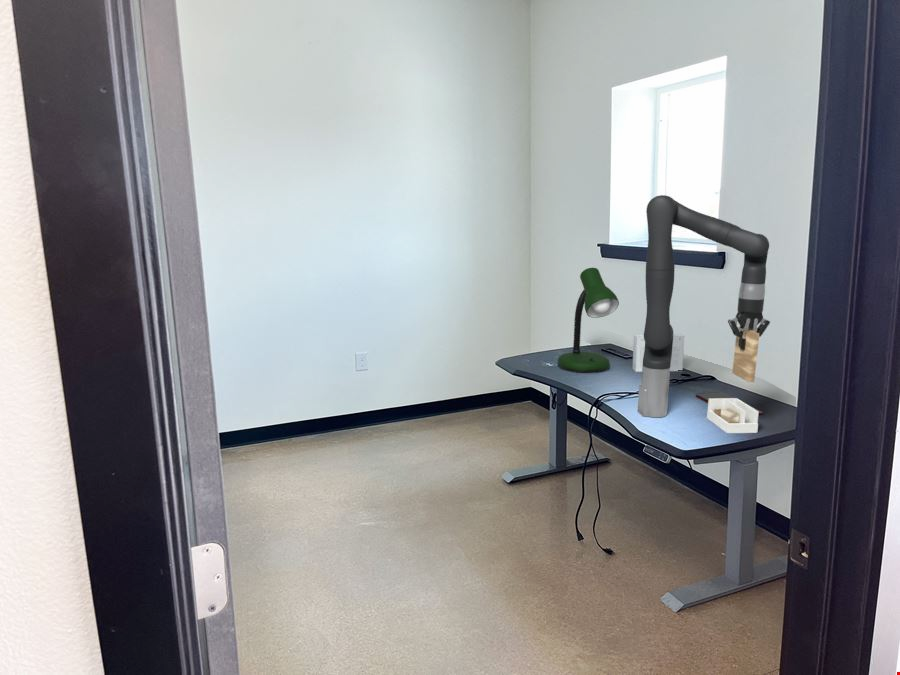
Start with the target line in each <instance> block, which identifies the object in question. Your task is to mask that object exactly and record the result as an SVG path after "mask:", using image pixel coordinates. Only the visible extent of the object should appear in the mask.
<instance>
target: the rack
mask: <svg viewBox="0 0 900 675" xmlns="http://www.w3.org/2000/svg"><path fill="white" fill-rule="evenodd" d="M750 406H751V405H750V404H747V403H746V402H743V400H740V399H739V398H737V397H733V398H713V399H709V400H708V403H707V412H706V419H708V420H709V421H711V423H713V424H714V425H715V426H717V427H718V428H720V429H721V430H722V431H723V432H725V433H726V434H754V433H755V434H756V433H758V429H759V423H758V422H759V421H758V420H759V415H758V413H759V412H758V411H757V410H758V409H757V410H755V409H756V408H755V407H753V406H751V407H750ZM752 407H753V408H752ZM728 408H731V409H733V410H735V411H736V412H738V413H739V422H738V423H728V422H726V421H725V420H724V419H722V418H721V417H719V416H718V415H717V414H715V413H714V409H728ZM754 408H755V409H754Z"/></svg>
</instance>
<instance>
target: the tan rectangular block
mask: <svg viewBox="0 0 900 675" xmlns="http://www.w3.org/2000/svg"><path fill="white" fill-rule="evenodd" d="M737 327H738V329H739V327H740V326H737ZM739 332H740V330H739ZM745 339H746V344H745V350H742V349H740V347H739V337H738V336H735V341H734V343H735V344H734V353H733V362H732V374H733V375H734V376H737V377H739V378H741V379H742V380H743V381H746V382H747V383H755V379H756V378H755V376H756V367H757V358H758V348H759V341H760V340H759V339H760V337H759V333H757V332H754V331H752V330H749V329H748V332H747V334H746V338H745Z"/></svg>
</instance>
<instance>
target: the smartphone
mask: <svg viewBox="0 0 900 675" xmlns="http://www.w3.org/2000/svg"><path fill="white" fill-rule="evenodd" d="M695 398H698V399H700V400H702V401H703V402H705V403H707V404H708V400H709V399H713V398H734V397H732V395H731V396H730V395H729V394H727V393H725V392H722V391H721V392H718V391H716V392H702V393H696V394H695ZM749 406H750V407H752V408H754V409H755V410H757V411H758V412H759V413H758V416H761V415H762V416H763V415H765V412H763V411H761V410H759V409H757V408H755V407H753V406H751V405H749Z"/></svg>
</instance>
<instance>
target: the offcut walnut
mask: <svg viewBox="0 0 900 675" xmlns="http://www.w3.org/2000/svg"><path fill="white" fill-rule="evenodd" d="M714 413H715V414H717V415H718V416H719V417H721V409H714Z"/></svg>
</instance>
